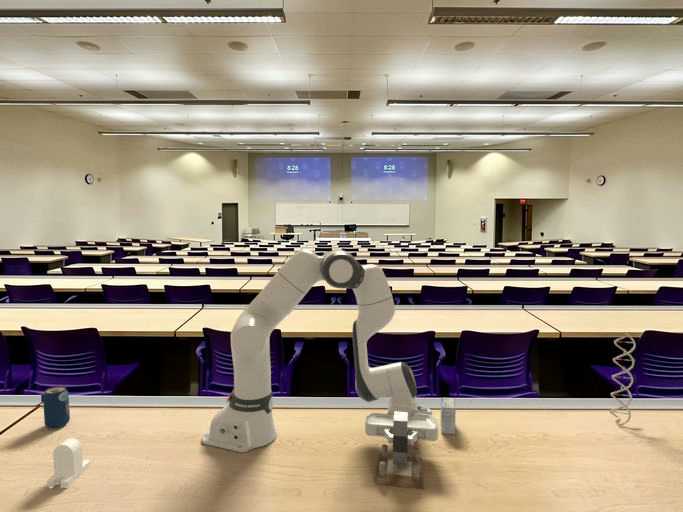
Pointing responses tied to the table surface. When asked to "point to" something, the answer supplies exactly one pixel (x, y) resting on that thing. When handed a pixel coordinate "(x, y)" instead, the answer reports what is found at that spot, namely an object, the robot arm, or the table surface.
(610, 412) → the dna model
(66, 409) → the soda can
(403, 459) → the grey rectangular block
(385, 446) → the peg cradle
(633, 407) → the table surface
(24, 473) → the table surface
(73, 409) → the table surface
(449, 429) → the medicine box
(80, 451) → the cable organizer
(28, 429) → the table surface
